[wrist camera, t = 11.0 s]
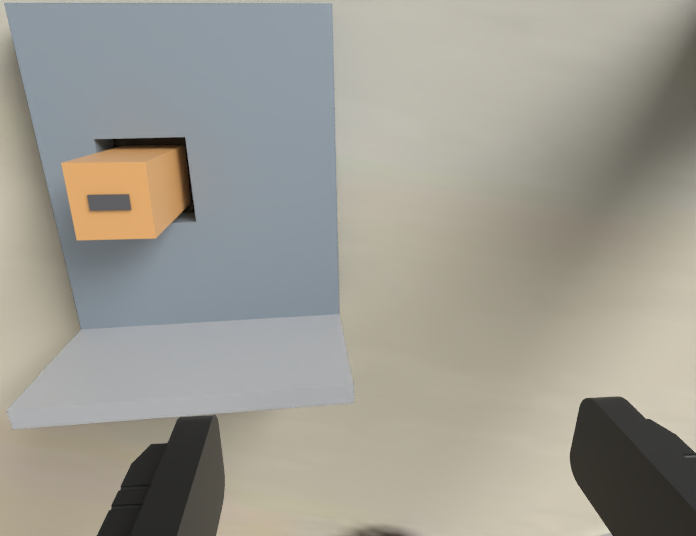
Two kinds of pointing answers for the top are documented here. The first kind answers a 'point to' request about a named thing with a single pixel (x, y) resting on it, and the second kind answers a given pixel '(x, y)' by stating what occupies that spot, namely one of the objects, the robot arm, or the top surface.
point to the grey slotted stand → (209, 203)
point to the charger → (127, 191)
